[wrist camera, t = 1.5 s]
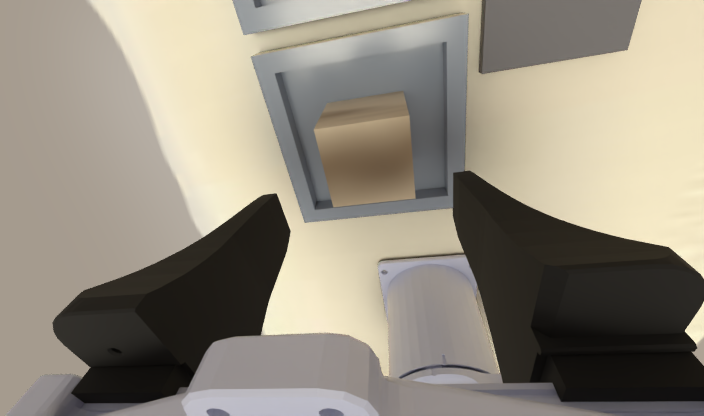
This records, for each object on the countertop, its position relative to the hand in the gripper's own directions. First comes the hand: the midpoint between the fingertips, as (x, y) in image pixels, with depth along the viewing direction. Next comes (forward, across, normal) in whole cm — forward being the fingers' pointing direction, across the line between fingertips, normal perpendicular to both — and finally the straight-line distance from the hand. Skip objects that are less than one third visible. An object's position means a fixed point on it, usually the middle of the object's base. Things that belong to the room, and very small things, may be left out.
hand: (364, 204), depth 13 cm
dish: (+8, 0, 0) cm, 8 cm away
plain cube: (+8, 0, 0) cm, 8 cm away
